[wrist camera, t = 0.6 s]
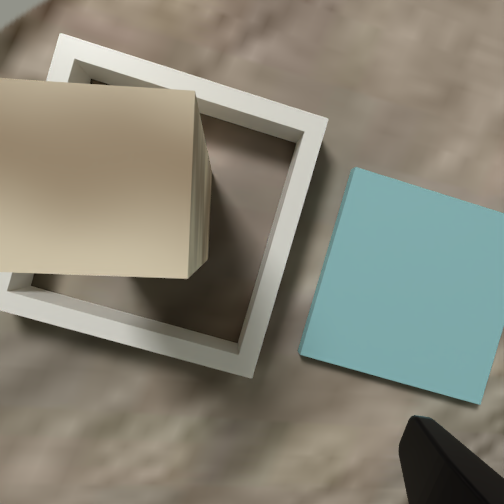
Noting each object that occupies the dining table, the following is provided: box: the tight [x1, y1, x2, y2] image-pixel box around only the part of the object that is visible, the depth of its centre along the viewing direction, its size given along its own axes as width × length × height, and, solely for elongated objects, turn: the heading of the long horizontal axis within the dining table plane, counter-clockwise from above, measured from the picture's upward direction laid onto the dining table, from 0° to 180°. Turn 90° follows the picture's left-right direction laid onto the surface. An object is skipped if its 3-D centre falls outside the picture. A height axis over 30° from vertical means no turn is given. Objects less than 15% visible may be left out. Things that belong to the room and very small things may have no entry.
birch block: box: [0, 78, 212, 279], centre depth 17 cm, size 5×5×12 cm
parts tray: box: [0, 33, 328, 379], centre depth 22 cm, size 14×14×2 cm
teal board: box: [298, 167, 504, 405], centre depth 24 cm, size 11×11×1 cm
